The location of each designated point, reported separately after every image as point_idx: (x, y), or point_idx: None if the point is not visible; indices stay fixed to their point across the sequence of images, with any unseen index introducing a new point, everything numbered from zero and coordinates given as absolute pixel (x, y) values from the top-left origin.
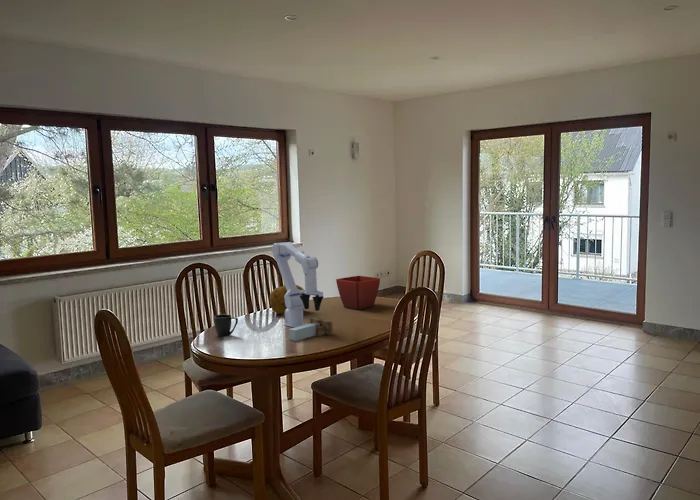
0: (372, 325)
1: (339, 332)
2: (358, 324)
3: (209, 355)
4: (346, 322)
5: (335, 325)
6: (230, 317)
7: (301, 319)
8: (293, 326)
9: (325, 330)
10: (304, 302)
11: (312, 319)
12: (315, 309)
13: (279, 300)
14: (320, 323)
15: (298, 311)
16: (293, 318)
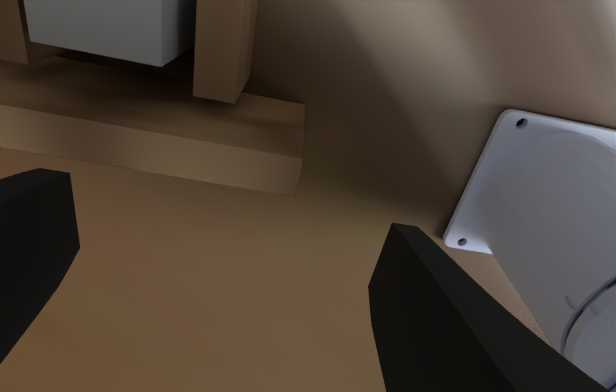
0: (8, 385)
1: (4, 158)
2: (101, 375)
3: None
4: (208, 383)
5: (216, 309)
6: None
7: (500, 226)
8: (541, 117)
9: (47, 66)
10: (463, 337)
11: (252, 145)
12: (30, 178)
13: None
14: (97, 103)
15: (586, 265)
16: (600, 172)
